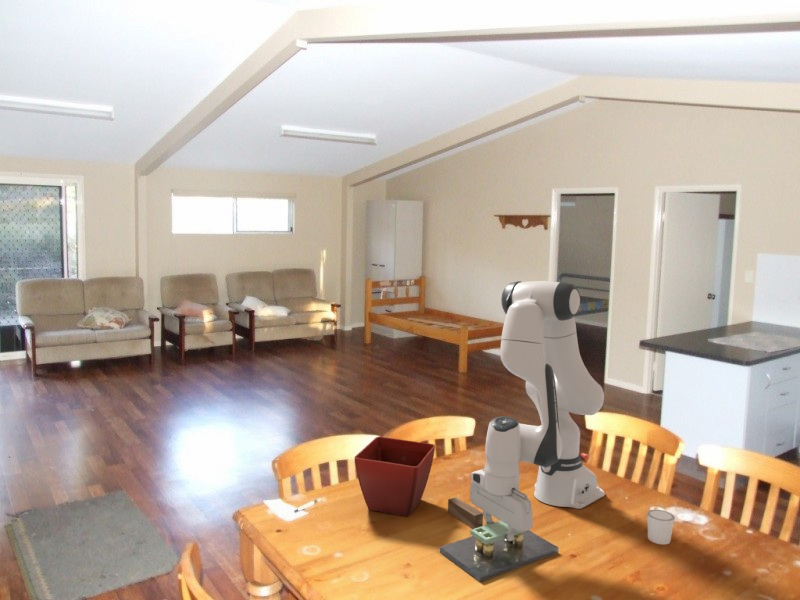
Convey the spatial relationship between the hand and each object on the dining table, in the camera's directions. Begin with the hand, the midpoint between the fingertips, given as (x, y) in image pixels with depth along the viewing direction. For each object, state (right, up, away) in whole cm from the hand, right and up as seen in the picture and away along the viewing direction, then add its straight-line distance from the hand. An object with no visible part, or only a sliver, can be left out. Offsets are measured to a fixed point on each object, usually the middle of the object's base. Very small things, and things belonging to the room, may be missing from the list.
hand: (499, 533), depth 170 cm
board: (0, 0, 0) cm, 0 cm away
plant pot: (-27, -1, +27) cm, 38 cm away
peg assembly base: (0, -5, +1) cm, 5 cm away
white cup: (+45, -5, +9) cm, 46 cm away
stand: (-7, -3, +19) cm, 20 cm away
